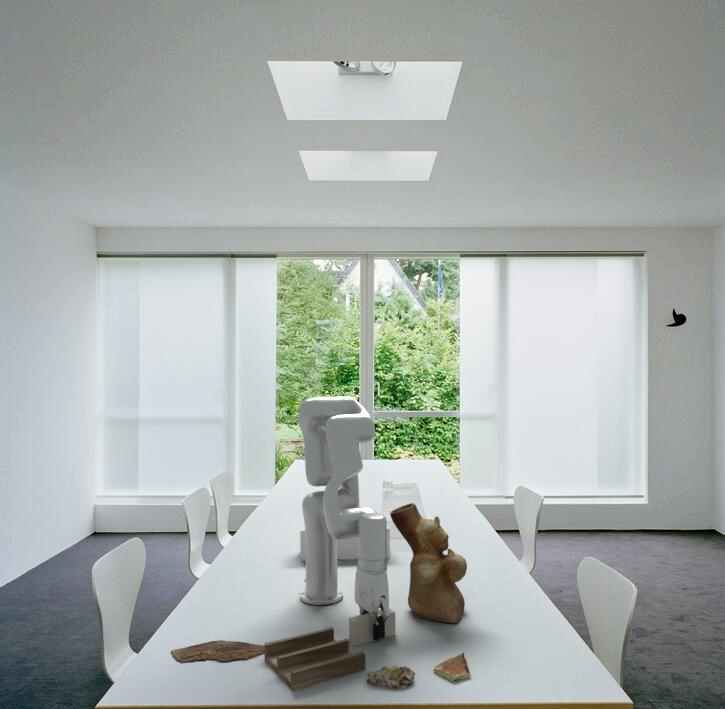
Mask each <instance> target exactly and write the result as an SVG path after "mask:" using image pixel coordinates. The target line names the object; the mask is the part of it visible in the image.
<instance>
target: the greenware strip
mask: <svg viewBox="0 0 725 709" xmlns="http://www.w3.org/2000/svg"><path fill="white" fill-rule="evenodd" d="M388 609H389V612H390V617H389V618H388V619H387V620H386V623H385V637H386V638H389V637H392V635H393V636H396V635H395V634H396V611H395V610H393V609H392V608H389V607H388ZM377 616H378V618H379V617H380V616H381V613H379V614H377ZM373 624H375V623H374V617H373V614H371V613H367V614H362V615H360V614H359V615H355V616H351V617H348V633H349V634H348V636H349V637H348V640H349V643H351V644H352V645H354V646H355V647H356V646H359V645H362V644H366V642H367V643H370V642H374V641H375V640H373ZM388 636H389V637H388Z"/></svg>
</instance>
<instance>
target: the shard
mask: <svg viewBox="0 0 725 709" xmlns="http://www.w3.org/2000/svg"><path fill="white" fill-rule="evenodd" d="M432 671H433V672H434V673H435V674H437V675H439V676H441V677H443V678H445V679H447V680H449V681H451V682H454V681H455V680H462V679H470V678H471V672H470V669H469V665H468V662H467V659H466V657H465V654H464V652H462V653H459V654H458V655H456V656H453V657H450V658H448V659H447V660H444V661H442V662H440V663H439V664H437V665H435V666H434V667H433V670H432Z"/></svg>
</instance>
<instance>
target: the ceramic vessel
mask: <svg viewBox="0 0 725 709" xmlns="http://www.w3.org/2000/svg"><path fill="white" fill-rule="evenodd" d="M389 515H390V517H391V518H390V519H391V520H392V522H393V525H394V526H395V528H396V529H397V530H398V532H399V533H400V534H401V536H402V537H403V539H404V540H405V541H406V542H407V544H408V546H409V547H410V549H411V551H412V558H411V561H410V564H409V569H410V572H409V573H410V575H409V577H410V580H409V590H408V596H407V604H408V607H409V609H410V610H411V611H412V612H413V613H414V614H415V615H417V616H419V617H421V618H423V619H425V620H430V621H436V622H444V623H457V622H459V621H460V620H461V619H462V617H463V615H464V611H465V603H466V602H465V597H464V595H463V593H462V591H461V590H460V588H459V587H458V586H457V584H456V583H457V582H460V581H461V580H462V579H463V578H464V577H465V576H466V573H467V569H468V564H467V561H466V559H465V558H464V557H463V556H462V555H460V554H458V553H456V552H455V551H454V550H452V549H451V548H449V537H450V536H449V534H448V533H447V532H446V531H445V530H444V528H443V527H442V526H441V521H440V517H439V516H435V517H434V519H429V518H425V517H423V516H422V515H421V514H420V511H419V509H418V507H417V505H416V503H413V502H410V503H407V504H404V505H401V506H398V507H397V508H395V509H392V510H391V511H390V512H389ZM446 551H447V553H446V554H445V553H444V552H446Z"/></svg>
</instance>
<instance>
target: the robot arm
mask: <svg viewBox="0 0 725 709" xmlns="http://www.w3.org/2000/svg"><path fill="white" fill-rule="evenodd" d="M297 416H298V423H299V427H300V431H301V434H302V438H303V444H304V446H303V447H304V463H305V464H304V468H305V478H306V481H307V483H308V484H309V485H310V486H312V487H319V488H320V487H325V489H324V490H317V491H313V492H310V493H308V494H307V495H306V496H304V498H303V500H302V503H301V510H302V516H303V523H305V545H306V560H305V579H304V583H305V589H303V590H302V591H301V592H300V595H299V596H300V600H301V601H302V602H304V603H306V604H309V605H315V606H324V605H326V606H328V605H332V604H335V603H338V602H339V601H341V600H342V599H343V597H344V596H343V590H342V589H340V588H338V560H337V539H338V540H340V539H348V538H354V537H358V559H357V567H356V572H355V581H354V602H355V603H356V605H358V607H359V615H362V614H367V613H371V614H373V617H374V623H375V624H373V640H374V641H375V642H376V641H381V640H382V639H385V623H386V620H387V619H388V618H389V617H390V612H389V609H388V608H389V606H390V594H389V592H390V590H389V579H388V572H387V570H388V558H387V523H388V521H387V518H386V516H385V515H384V514H381V513H378V512H377V510H375V509H374V508H373V507H370V506H361V507H360V488H359V487H360V486H359V473H361V472H362V470H363V468H364V464H363V460H362V454H361V450H360V446H359V444H364V443H365V444H367V443H370V442H372V441H373V440H374V438H375V435H376V426H375V422H374V420H373V418H372V417H371V415H370V413H369V412H368V411H367V410H366V408H364V406H363V405H362V404H361V403H360V402H359V401H358V400H357V399H356V398H354V397H353V396H345V395H344V396H343V395H342V396H316V397H310V398H306V399H305V400H303V401H302V402H301V404H300V405H299V408H298V414H297ZM379 613H381V616H380V617H379V618H378V616H377V614H379Z"/></svg>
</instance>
